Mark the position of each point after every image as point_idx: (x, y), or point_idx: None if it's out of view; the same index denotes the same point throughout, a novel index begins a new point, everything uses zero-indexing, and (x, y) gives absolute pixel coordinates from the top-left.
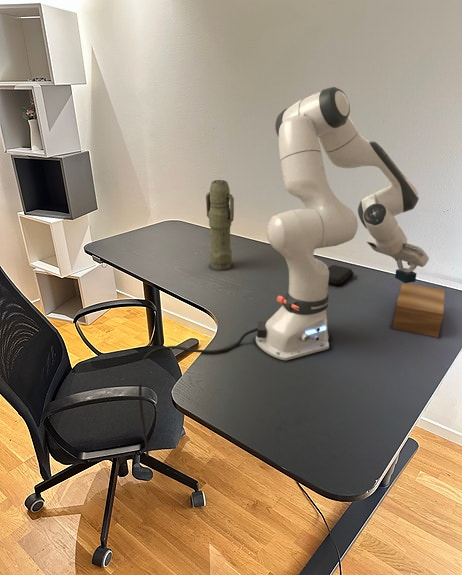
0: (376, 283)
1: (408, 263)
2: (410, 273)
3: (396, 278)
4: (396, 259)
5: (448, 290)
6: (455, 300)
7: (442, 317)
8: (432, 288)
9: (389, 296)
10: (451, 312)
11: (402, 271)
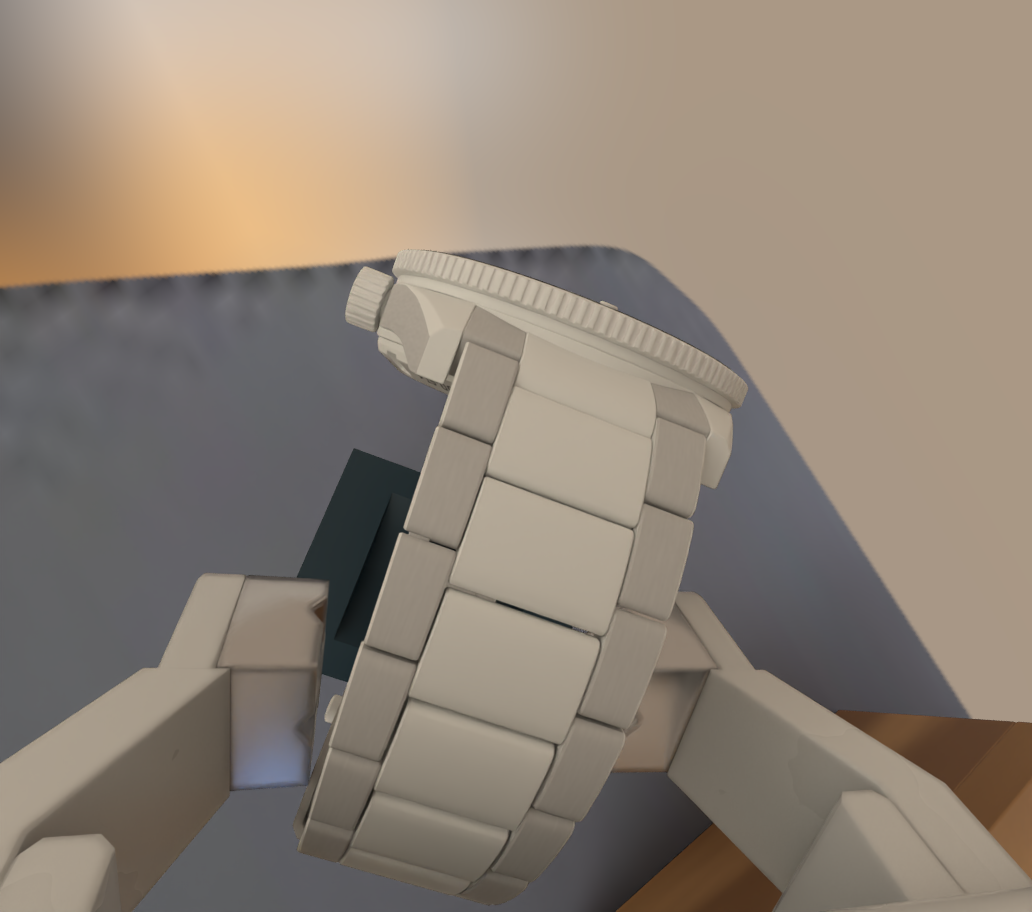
0: (12, 683)
1: (646, 767)
2: (541, 615)
3: None
4: (245, 785)
5: (630, 285)
6: (763, 416)
7: None
8: (1025, 847)
9: (372, 882)
10: (882, 642)
11: (362, 580)
